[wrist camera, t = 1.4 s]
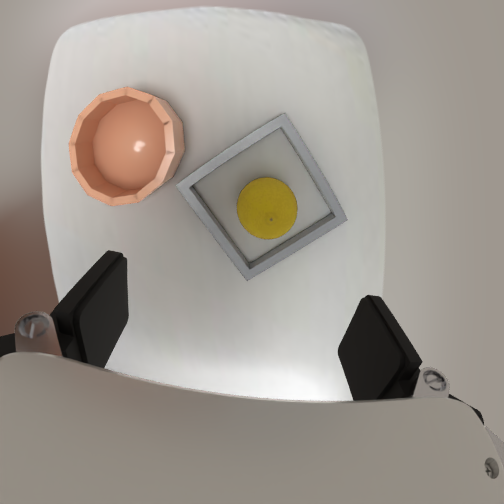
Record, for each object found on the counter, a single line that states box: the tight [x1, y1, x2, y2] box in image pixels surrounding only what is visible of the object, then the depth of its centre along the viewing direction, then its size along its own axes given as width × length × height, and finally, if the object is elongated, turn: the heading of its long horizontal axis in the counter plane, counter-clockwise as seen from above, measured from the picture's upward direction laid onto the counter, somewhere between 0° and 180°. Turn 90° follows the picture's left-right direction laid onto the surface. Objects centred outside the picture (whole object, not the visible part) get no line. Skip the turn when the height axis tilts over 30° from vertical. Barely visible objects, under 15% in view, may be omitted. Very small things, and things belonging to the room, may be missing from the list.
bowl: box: [69, 87, 185, 206], centre depth 25 cm, size 11×11×4 cm
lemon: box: [237, 177, 297, 239], centre depth 26 cm, size 6×6×8 cm
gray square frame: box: [175, 113, 348, 281], centre depth 29 cm, size 13×13×2 cm
